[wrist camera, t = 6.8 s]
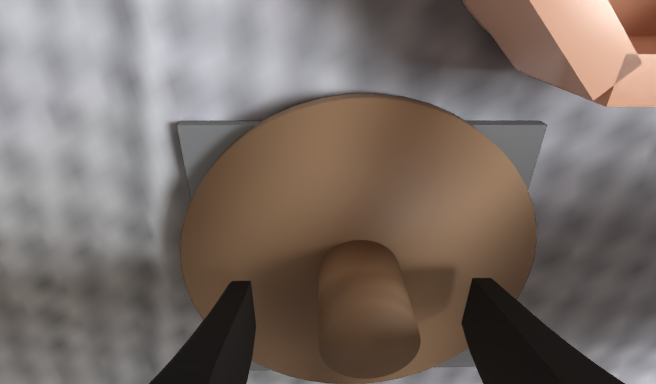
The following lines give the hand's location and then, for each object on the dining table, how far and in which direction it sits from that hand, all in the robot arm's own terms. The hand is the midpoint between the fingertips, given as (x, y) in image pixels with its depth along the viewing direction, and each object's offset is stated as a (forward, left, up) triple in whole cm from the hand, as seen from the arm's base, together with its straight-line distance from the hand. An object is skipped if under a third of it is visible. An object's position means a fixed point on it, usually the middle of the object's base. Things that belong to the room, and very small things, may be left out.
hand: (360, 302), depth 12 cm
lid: (0, 0, -2) cm, 2 cm away
